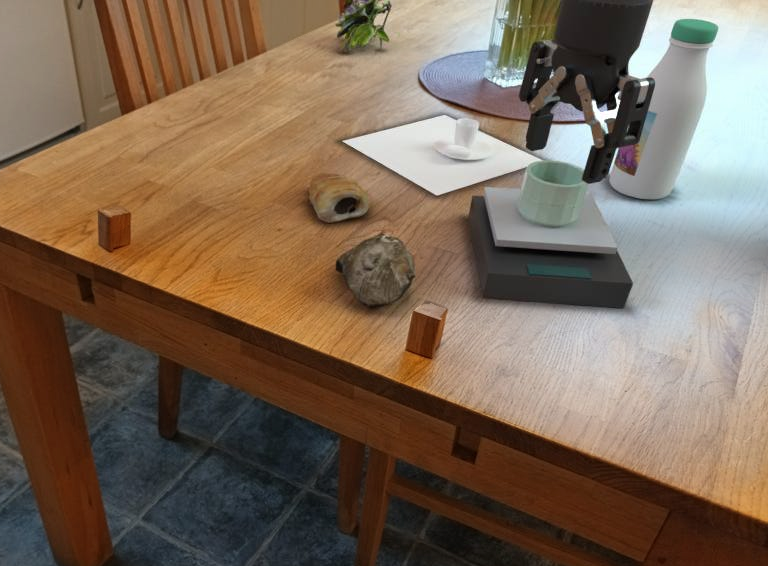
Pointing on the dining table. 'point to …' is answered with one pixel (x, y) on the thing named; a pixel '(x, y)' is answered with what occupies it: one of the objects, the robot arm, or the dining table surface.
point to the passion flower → (362, 23)
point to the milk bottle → (668, 115)
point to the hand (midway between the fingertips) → (562, 164)
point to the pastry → (337, 197)
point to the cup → (552, 193)
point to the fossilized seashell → (377, 270)
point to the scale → (545, 255)
